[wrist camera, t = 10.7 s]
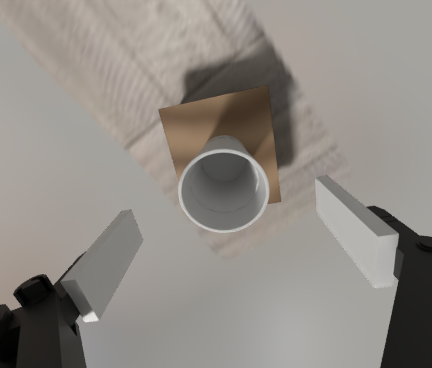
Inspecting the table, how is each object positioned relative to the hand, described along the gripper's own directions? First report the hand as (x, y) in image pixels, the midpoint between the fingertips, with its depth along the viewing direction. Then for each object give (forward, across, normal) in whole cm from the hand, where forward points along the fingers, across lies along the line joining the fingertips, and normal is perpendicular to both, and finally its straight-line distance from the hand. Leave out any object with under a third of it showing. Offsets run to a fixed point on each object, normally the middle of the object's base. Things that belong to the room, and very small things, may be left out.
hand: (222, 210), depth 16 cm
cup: (+16, 0, -1) cm, 16 cm away
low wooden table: (+22, 0, -1) cm, 22 cm away
